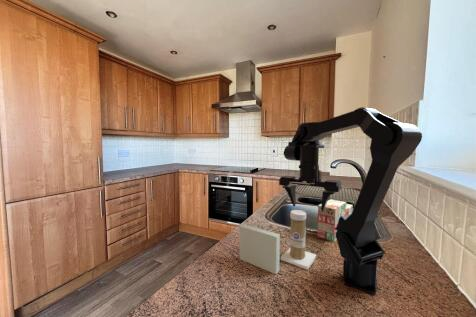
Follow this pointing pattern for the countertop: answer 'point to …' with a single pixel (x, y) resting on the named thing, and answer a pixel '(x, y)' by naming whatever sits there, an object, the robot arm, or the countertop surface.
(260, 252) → the pale green board
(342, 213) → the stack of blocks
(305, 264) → the tile pad
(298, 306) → the countertop surface
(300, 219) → the seasoning jar
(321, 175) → the robot arm
